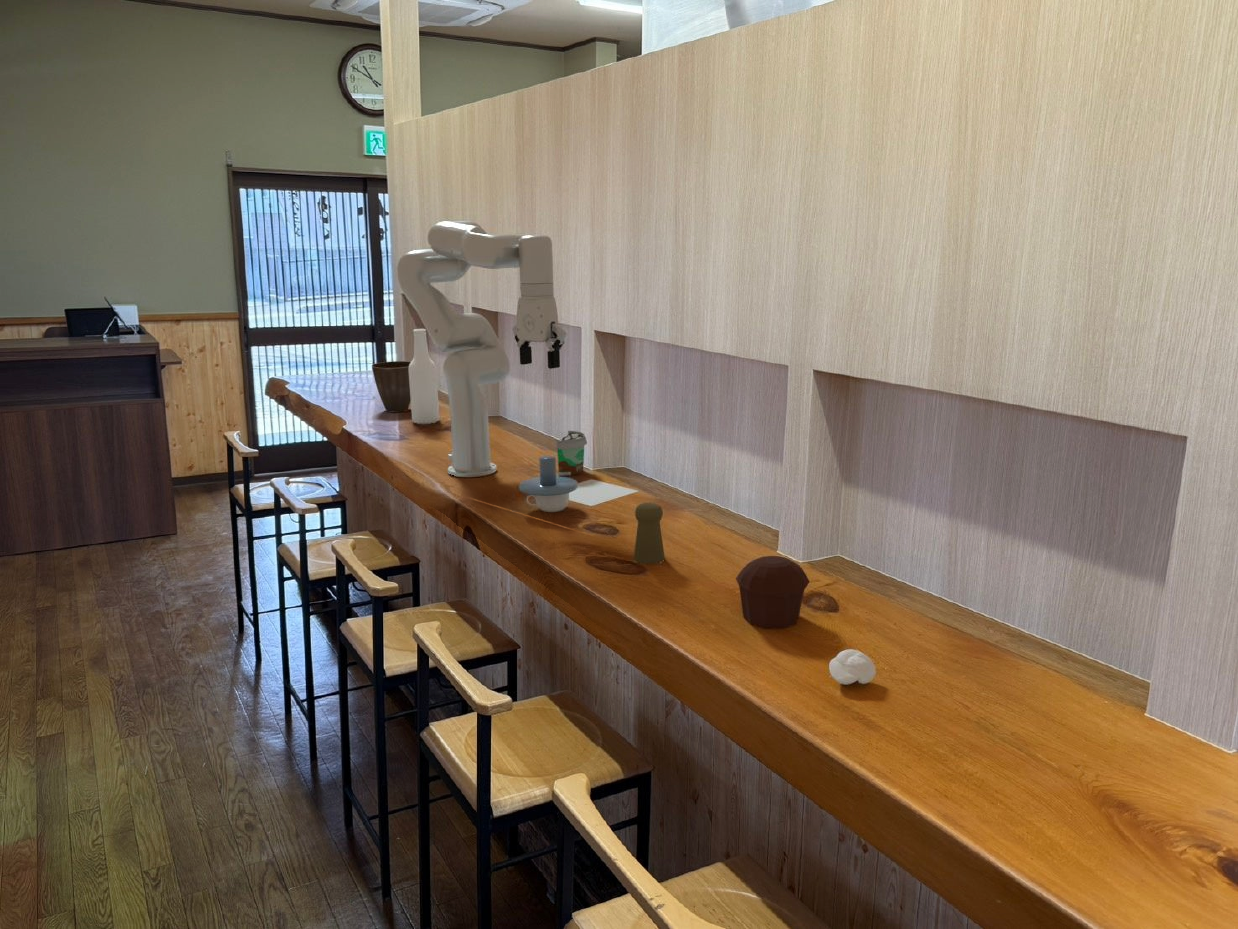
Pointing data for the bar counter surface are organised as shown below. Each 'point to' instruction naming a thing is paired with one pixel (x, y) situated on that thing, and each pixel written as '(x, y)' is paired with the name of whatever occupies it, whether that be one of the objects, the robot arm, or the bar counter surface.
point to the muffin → (772, 591)
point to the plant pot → (393, 384)
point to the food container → (571, 454)
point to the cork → (649, 534)
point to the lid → (548, 480)
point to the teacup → (550, 502)
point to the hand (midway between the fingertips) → (539, 365)
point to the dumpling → (852, 667)
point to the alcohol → (423, 382)
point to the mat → (597, 492)
